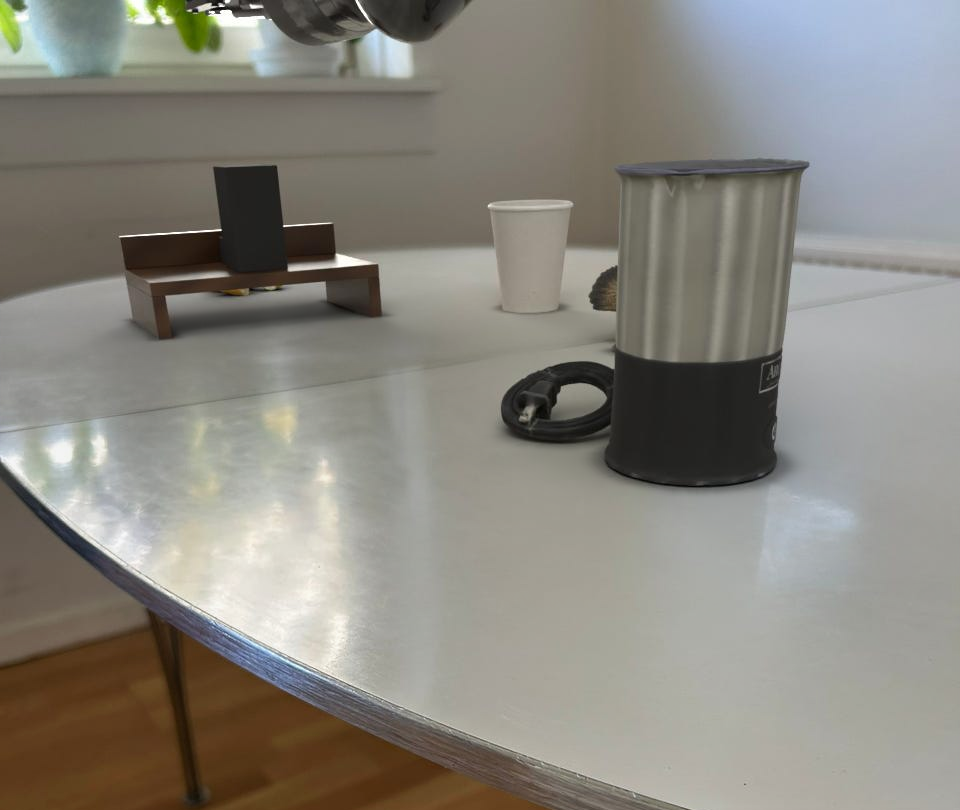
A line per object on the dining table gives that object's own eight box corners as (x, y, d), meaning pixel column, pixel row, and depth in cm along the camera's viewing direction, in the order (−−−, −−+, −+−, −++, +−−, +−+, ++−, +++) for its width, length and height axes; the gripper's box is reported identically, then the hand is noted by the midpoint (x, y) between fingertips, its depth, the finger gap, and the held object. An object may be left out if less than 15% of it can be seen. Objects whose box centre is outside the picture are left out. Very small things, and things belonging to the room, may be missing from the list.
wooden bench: (159, 340, 91) (143, 247, 87) (133, 320, 101) (118, 236, 98) (382, 316, 100) (376, 230, 96) (337, 300, 110) (330, 222, 106)
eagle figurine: (597, 319, 89) (565, 315, 81) (647, 248, 85) (619, 237, 77) (663, 372, 88) (637, 374, 80) (716, 302, 84) (695, 296, 76)
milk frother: (784, 493, 49) (824, 162, 43) (471, 483, 52) (462, 169, 45) (762, 419, 62) (791, 154, 55) (511, 414, 64) (509, 159, 58)
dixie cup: (574, 314, 98) (576, 204, 93) (489, 316, 98) (487, 206, 94) (568, 301, 105) (570, 198, 101) (490, 303, 106) (488, 200, 101)
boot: (288, 268, 96) (277, 165, 91) (238, 272, 94) (225, 167, 90) (262, 260, 103) (251, 163, 98) (216, 263, 101) (202, 165, 97)
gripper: (427, -88, 66) (343, -51, 79) (214, -104, 61) (161, -62, 74) (431, 43, 70) (350, 57, 83) (230, 39, 64) (177, 55, 77)
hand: (261, 1), depth 78 cm, fingers open, 8 cm apart
